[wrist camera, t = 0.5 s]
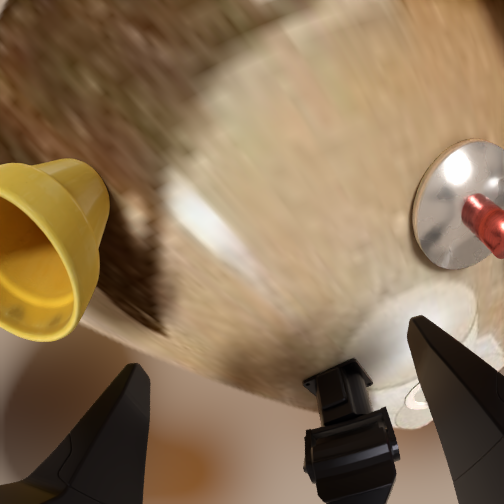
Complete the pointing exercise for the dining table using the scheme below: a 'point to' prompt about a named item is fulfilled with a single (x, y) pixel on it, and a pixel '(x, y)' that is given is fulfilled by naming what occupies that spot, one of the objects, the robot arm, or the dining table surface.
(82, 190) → the plant pot
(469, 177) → the lid
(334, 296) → the dining table surface
